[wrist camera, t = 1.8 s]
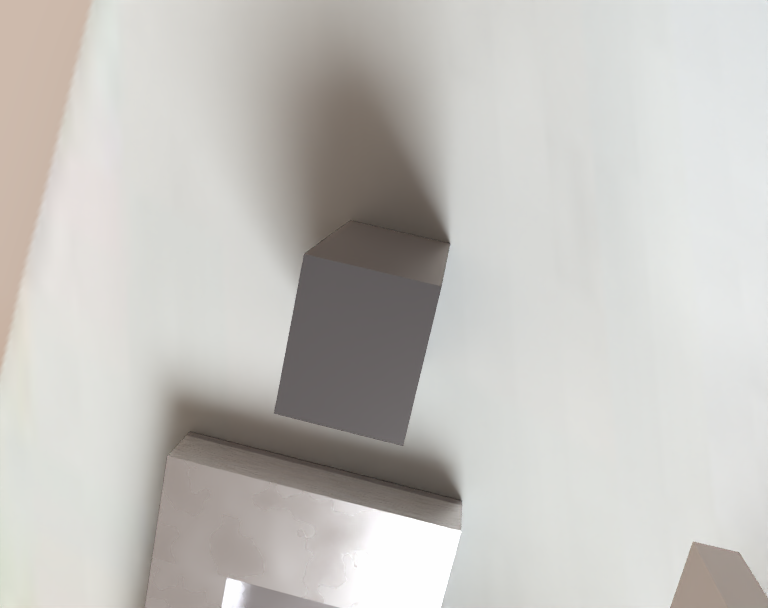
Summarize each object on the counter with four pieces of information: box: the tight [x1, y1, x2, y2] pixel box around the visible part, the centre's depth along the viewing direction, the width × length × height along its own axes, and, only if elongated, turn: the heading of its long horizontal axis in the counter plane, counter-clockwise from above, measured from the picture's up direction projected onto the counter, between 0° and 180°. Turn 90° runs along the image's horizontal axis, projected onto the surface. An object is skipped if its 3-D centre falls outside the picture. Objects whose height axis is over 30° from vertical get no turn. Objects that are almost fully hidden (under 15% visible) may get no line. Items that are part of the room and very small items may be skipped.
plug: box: [274, 220, 450, 446], centre depth 25 cm, size 5×4×8 cm
